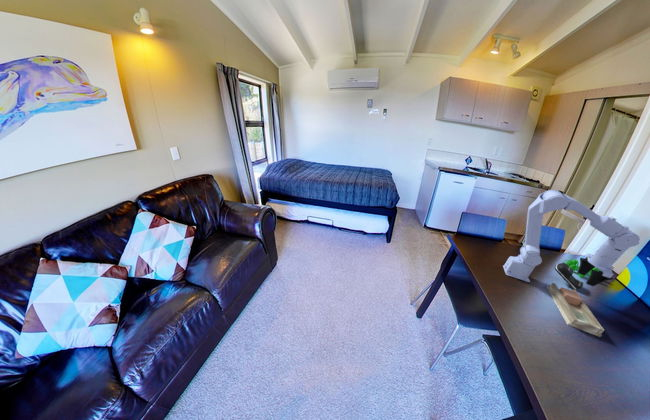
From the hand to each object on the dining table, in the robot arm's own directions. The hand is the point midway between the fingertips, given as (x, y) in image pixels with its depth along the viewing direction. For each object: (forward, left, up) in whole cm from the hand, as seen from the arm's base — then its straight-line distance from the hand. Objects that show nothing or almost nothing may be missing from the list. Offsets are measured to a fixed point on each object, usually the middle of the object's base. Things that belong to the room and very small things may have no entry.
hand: (585, 279), depth 90 cm
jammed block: (-5, -8, -8) cm, 12 cm away
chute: (-5, -13, -10) cm, 16 cm away
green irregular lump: (+12, +26, -10) cm, 30 cm away
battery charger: (+5, +7, -8) cm, 11 cm away
